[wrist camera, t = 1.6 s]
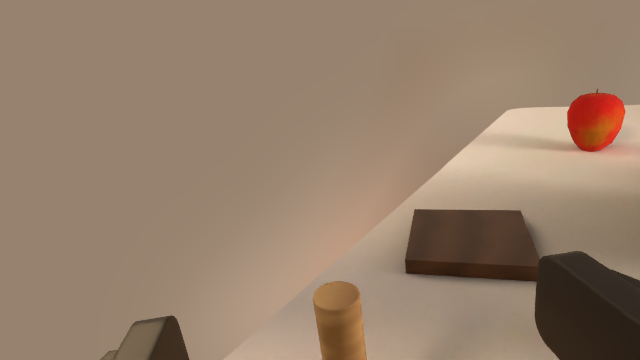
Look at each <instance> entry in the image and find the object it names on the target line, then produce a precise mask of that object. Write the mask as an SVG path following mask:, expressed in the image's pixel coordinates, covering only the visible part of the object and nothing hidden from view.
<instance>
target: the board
mask: <svg viewBox="0 0 640 360" xmlns="http://www.w3.org/2000/svg"><path fill="white" fill-rule="evenodd" d="M539 260H540V259H539V256H538V254H537V251H536V249H535V246H534V244H533V241H532V239H531V236H530V234H529V231H528V229H527V226H526V224H525V221H524V219H523V216H522V214H521V211H515V210H422V209H415V210H414V216H413V221H412V226H411V232H410V237H409V242H408V248H407V253H406V258H405V265H406V273H416V274H431V275H447V276H463V277H478V278H494V279H510V280H526V281H537V267H538V262H539Z"/></svg>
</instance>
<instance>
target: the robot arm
mask: <svg viewBox="0 0 640 360" xmlns="http://www.w3.org/2000/svg"><path fill="white" fill-rule="evenodd" d="M535 321H536V325H537V329H538V331H539V333H540V336H541V337H542V339H543V341H544V342H545V344H546V345H547V346H548V347H549V348H550V349H551V350H552V352H553V353H554V354H555V355H556V356H557V357H558V358H559V359H560V360H640V281H639V280H637V279H634V278H632V277H629V276H627V275H624V274H621V273H619V272H616V271H614V270H610V269H608V268H607V267H605V266H604V265H602V264H601V263H599V262H598V261H596V260H595V259H593V258H592V257H590V256H589V255H587V254H586V253H584V252H581V251H573V252H567V253H561V254H555V255H549V256H543V257H542V258H541V259H540V260H539V262H538V267H537V284H536V301H535ZM100 360H189V357H188V354H187V350H186V347H185V344H184V340H183V337H182V333H181V330H180V327H179V324H178V321H177V319H176V318H175V317H174V316H166V317H160V318H154V319H148V320H142V321H137V322H135V323H134V324H133V325H132V326H131V328H130V329H129V331H128V333H127V335H126V336H125V338H124V340H123V342H122V343H121V345H120V347H119V349H118V350H114V351H109V352H108V353H107V354H106V355H105V356H104V357H102V359H100Z"/></svg>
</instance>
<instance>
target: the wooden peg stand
mask: <svg viewBox="0 0 640 360" xmlns="http://www.w3.org/2000/svg"><path fill="white" fill-rule="evenodd" d="M313 302H314V309H315V315H316V322H317V328H318V335H319V341H320V347H321V354H322V360H367V356H366V347H365V337H364V328H363V319H362V310H361V300H360V292H359V290H358V289H357V287H356V286H354V285H353V284H351V283H348V282H342V281H336V282H330V283H327V284H324V285H322V286H321V287H319V288H318V289H317V290H316V291H315V293H314V296H313Z"/></svg>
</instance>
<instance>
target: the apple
mask: <svg viewBox="0 0 640 360" xmlns="http://www.w3.org/2000/svg"><path fill="white" fill-rule="evenodd" d="M624 115H625V109H624V105H623V102H622V101H621V100H620V99H619V98H618V97H617V96H615V95H611V94H606V93H598V89H597V93H592V94H585V95H581V96H579V97H578V98H577V99H576V100H574V101H573V102H572V104H571V106H570V108H569V110H568V112H567V120H568V129H569V131H570V134H571V137H572V139H573V141H574V143H575V144H576V145H577V146H578V147H579V148H580V149H582V150H585V151H598V150H601V149H603V148H604V147H606V146H607V145H609V144H611V143H612V142H613V140H614V139H615V137H616V136H617V134H618V132H619V131H620V129H621V126H622V123H623V119H624Z"/></svg>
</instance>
